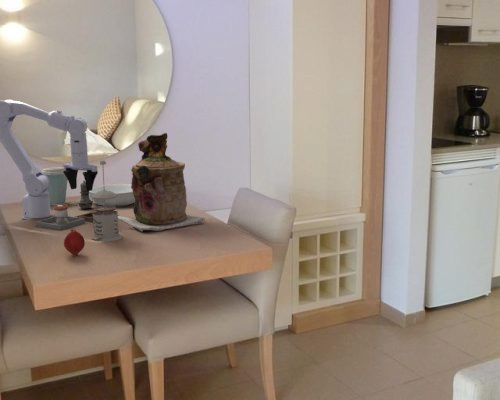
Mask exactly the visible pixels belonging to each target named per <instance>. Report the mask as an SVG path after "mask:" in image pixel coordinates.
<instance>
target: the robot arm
mask: <svg viewBox="0 0 500 400" xmlns="http://www.w3.org/2000/svg"><path fill="white" fill-rule="evenodd" d="M21 115H25V116H29V117H31V118H35V119H38V120H42V121H45V122H47V125H48V126H49V127H52V128H54V129H58V130H60V131H63V132H68V134H69V137H70V139H69V140H70V141H69V143H70V156H71V157H70V159H71V161H70V162H67V163H63V166H62V167H63V168H64V169H66V170H65V171H63V173H64V174H65V176H66V177H67V179H68V181H67V182H68V184H69V187H70V190H76V189H77V186H78V185H77V184H78V179H77V178H78V172H79V171H83V172H82V176H83V178H84V181H85V183H86V190H87V191H92V188H93V187H94V183H95V179H96V177H97V175H98V173H99V171H98V165H96V164H90V163H89V155H88V154H89V153H88V139H87V133H86V132H87V130H88V123H87V122H86V120H85V119H83V118H81V117H76V116H75V115H68V114H65V113H62V110H53V111H50V112H49V111H46V110H43V109H41V108H39V107H36V106H33V105H31V104H28V103H25V102H22V101H18V100H14V99H11V98H10V99H5V100H0V143H1V144H2V146H3V147H4V149H5V150H6V151H7V153H8V154H9V156H10V157H11V159H12V160H13V162H14V163H15V165H16V167H17V168H18V170H19V171H20V172H21V176H22V181H23V182H24V186H25V189H26V192H27V194H24V196H22V201H21V202H22V203H21V204H22V205H21V206H22V217H21V219H23V220H30V219H46V218H50V217H51V215H52V213H51V205H50V198H49V192H48V190H47V189H48V188H49V186H50V180H49V178H48V177H47V176H46V175H44V174H43V173H42V170H41V169H40V168H38V167H37V166H36V165H35V164H34V162H33V161H32V159H31V158H30V156H29V155H28V153H27V151H26V150H25V148H24V147H23V145H22V144H21V142H20V141H19V139H18V138H17V136H16V134H15V133H14V132H13V130H12V126H13V125H12V124H13V122H14V120H15V119H16V118H17V116H21ZM75 117H76V118H75Z"/></svg>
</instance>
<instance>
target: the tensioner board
mask: <svg viewBox="0 0 500 400" xmlns="http://www.w3.org/2000/svg"><path fill="white" fill-rule="evenodd" d="M94 212H95V210H94V211H90V212H86V213H83V214H79V215H75V216H74V217H78V218H85V223H87V222H88V223H93V213H94ZM101 215H103V212H101ZM118 216H120V214H118ZM94 221H95V220H94Z"/></svg>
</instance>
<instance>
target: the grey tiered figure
mask: <svg viewBox="0 0 500 400" xmlns="http://www.w3.org/2000/svg"><path fill="white" fill-rule="evenodd" d="M79 194H80V200H78V201H77V205H78V207H79V208H80V209H83V210H88V209H91V208H92V207H93V203H94V202H93V201H92V199H91V198H90V195H89V191H87V190H86V182H85V180H83V182H81V183H80V192H79Z"/></svg>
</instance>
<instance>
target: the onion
mask: <svg viewBox="0 0 500 400" xmlns="http://www.w3.org/2000/svg"><path fill="white" fill-rule="evenodd" d="M85 241H86V240H85V238H84V236H83V235H82V234H81V233H80V232H78V231H77V230H76V229H75V228H72V229H70V232H68V233H67V235H66V236H65V238H64V240H63V246H64V248H65V250H66V251H67V252H68V253H70V254H72V256H78V254H79V253H81V252H82V251H83V250H84V248H85V245H86V242H85Z"/></svg>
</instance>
